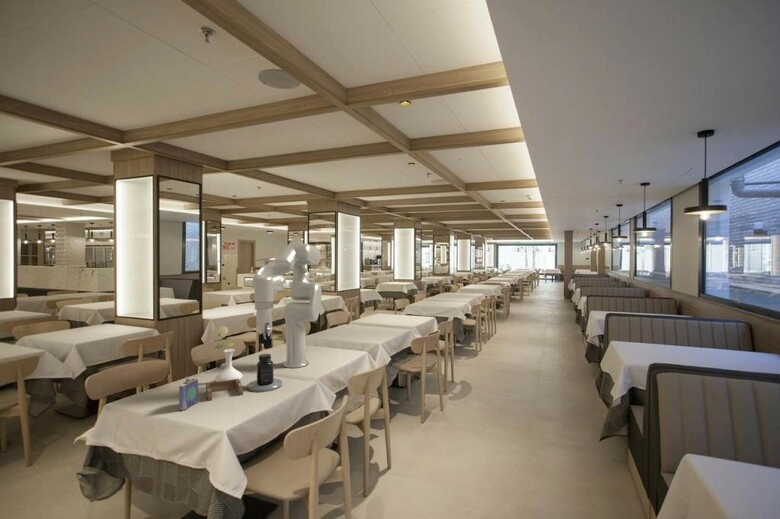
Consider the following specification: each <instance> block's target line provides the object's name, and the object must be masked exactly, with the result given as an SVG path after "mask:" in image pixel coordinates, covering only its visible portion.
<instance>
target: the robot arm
mask: <svg viewBox="0 0 780 519" xmlns="http://www.w3.org/2000/svg"><path fill="white" fill-rule="evenodd" d="M321 255H322V254H321V250H320V249H319V248H317V247H316V246H313V245H312V244H308V243H289V244H286V245H285V246H284V248H283V249H282V250H281V252H280V253H279V255H278V256H277V258H276V259H274V260H272V261H270V262H268V263H266V264H264V265H263V266H261V267H260V268H259V269H258V270H257V271H256V273H255V275H254V276H253V278H252V281H251V285H252V286H251V287H252V288H253V290H254V310H255V311H256V315H255V316H256V318H255V326H256V327H255V330H256V332H257V333H258V344H259V345H261V344H263V349H265V350H267V349H271V348H272V347H273V340H272V332H273V314H272V310H274V293H278V292H281V291H284V289H285V288H286V286H287V281H286V278H285V277H284V275H285V274H287V273H289V272H291V270H292V272H293V273H292V274H293V275H292V280H291V281H292V282H291V286H290V287H291V288H290V298H291V299H292V300H293V301H295V302H289V303H287V304H286V305H285V306H284V308H283V316H284V320H285V333H286V334H285V336H286V338H285V340H286V343H285V344H286V356H285V357H286V361H284V362H283V367H284V368H289V369H296V368H303V367H307V366H308V365H309V364H310V361H309V360H308V359H307V358H306V357H307V354H306V352H307V350H306V349H307V348H306V327H305V325H304V323H303V322H310V323H311V322H316V321H317V320H318V318H319V315H320V310H321V302H322V294H323V293H322V286H321V285H320V283H318V282H310V272H309V271H308V269H307V268H306V266H305V265H308V266H309V265H310V266H311V265H314V266H315V265H318V264H319V263H320V262H321V259H322V256H321ZM299 301H300V302H299Z"/></svg>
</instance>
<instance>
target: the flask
mask: <svg viewBox="0 0 780 519" xmlns="http://www.w3.org/2000/svg"><path fill="white" fill-rule="evenodd" d="M184 379H185V381H184V382H183V383H181V384H180V385H179V386H178V387H179V388H178V389H179V390H178V391H179V396H178V397H179V399H178V401H179V404H178V405H179V408H178V409H179V411H180V410H181V411H182V412H184V411H186V409H187V410H188V409H189V407H190V408H191V406H192V407H193V406H195V405H197V404H198V403H199V398H198V396H199V379H198V378H196V377H195V378H193V377H192V378H191V377H189V376H185V377H184ZM183 410H184V411H183ZM181 411H180V412H181Z"/></svg>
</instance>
